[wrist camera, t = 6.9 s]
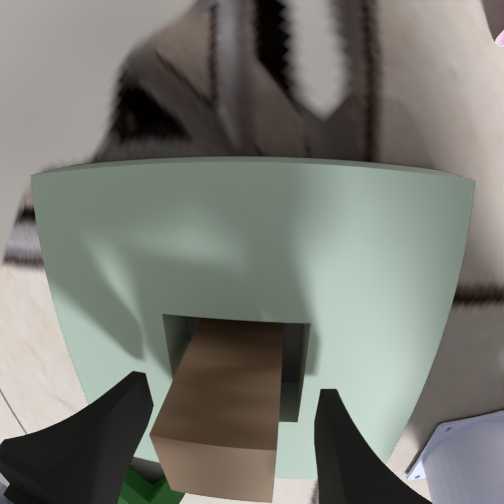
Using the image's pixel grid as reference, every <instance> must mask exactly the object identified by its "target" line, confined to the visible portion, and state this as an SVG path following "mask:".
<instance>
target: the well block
mask: <svg viewBox="0 0 504 504" xmlns="http://www.w3.org/2000/svg"><path fill="white" fill-rule="evenodd" d="M31 184H32V193H33V202H34V209H35V216H36V223H37V229H38V235H39V241H40V247H41V252H42V257H43V262H44V266H45V271H46V275H47V280H48V284H49V288H50V292H51V296H52V300H53V303H54V307H55V311H56V314H57V318H58V321H59V324H60V328H61V331H62V334H63V337H64V340H65V343H66V347H67V349H68V352H69V355H70V358H71V361H72V364H73V366H74V369H75V372H76V374H77V377H78V380H79V382H80V385H81V387H82V390H83V392H84V395H85V397H86V399H87V402H88V404H91V403H92V402H94V401H95V400H97V399H98V398H99V397H101V396H102V395H103V394H105V393H106V392H107V391H108V390H110V389H111V388H112V387H113V386H115V385H116V384H117V383H118V382H120V381H121V380H122V379H123V378H124V377H126V376H127V375H128V374H129V373H131V372H132V371H137V372H143V373H146V376H147V380H148V384H149V388H150V392H151V396H152V400H153V403H154V407H153V411H152V414H151V417H150V421H149V424H148V426H147V428H146V431H145V433H144V435H143V437H142V439H141V441H140V443H139V445H138V448H137V450H136V452H135V454H134V457H137V458H141V459H146V460H150V461H154V462H159V459H158V457H157V454H156V452H155V449H154V447H153V444H152V441H151V439H150V436H149V434H150V431H151V429H152V427H153V425H154V422H155V420H156V418H157V415H158V413H159V411H160V409H161V406H162V404H163V402H164V399H165V397H166V395H167V393H168V390H169V388H170V386H171V384H172V381H173V379H174V377H175V375H176V373H177V370H178V368H179V366H180V364H181V361H182V359H183V357H184V355H185V352H186V350H187V348H188V346H189V344H190V341H191V339H192V337H193V335H194V333H195V330H196V328H197V326H198V324H199V322H200V319H201V317H203V318H216V319H230V320H245V321H263V322H284V325H283V350H282V372H281V392H280V410H279V426H278V441H277V455H276V466H275V477H274V478H290V479H318V475H317V465H316V456H315V447H314V420H315V415H316V410H317V405H318V400H319V394H320V389H337V390H338V392H339V395H340V397H341V399H342V401H343V403H344V405H345V407H346V409H347V411H348V413H349V415H350V417H351V418H352V420H353V422H354V423H355V425H356V427H357V428H358V430H359V431H360V433H361V435H362V436H363V437H364V439H365V440H366V442H367V443H368V445H369V446H370V447H371V449H372V450H373V451H374V452H375V454H376V455H377V456H378V457H379V458H380V459H381V461H382V462H383V463H384V464H385V465H386V463H387V462H388V460H389V458H390V456H391V454H392V452H393V451H394V449H395V447H396V445H397V443H398V441H399V439H400V437H401V435H402V433H403V431H404V429H405V427H406V425H407V423H408V421H409V419H410V416H411V414H412V412H413V410H414V408H415V405H416V403H417V401H418V399H419V396H420V394H421V392H422V389H423V387H424V384H425V382H426V379H427V377H428V374H429V372H430V369H431V366H432V364H433V361H434V358H435V356H436V353H437V350H438V347H439V344H440V341H441V338H442V335H443V332H444V329H445V326H446V323H447V319H448V316H449V313H450V309H451V306H452V302H453V298H454V295H455V291H456V287H457V283H458V279H459V275H460V270H461V266H462V262H463V257H464V252H465V247H466V242H467V236H468V231H469V225H470V219H471V212H472V205H473V197H474V189H475V181H474V180H471V179H467V178H464V177H461V176H458V175H454V174H451V173H448V172H444V171H441V170H436V169H429V168H421V167H413V166H405V165H396V164H387V163H376V162H365V161H353V160H339V159H324V158H304V157H275V156H197V157H169V158H150V159H134V160H120V161H108V162H97V163H87V164H78V165H72V166H67V167H63V168H58V169H54V170H50V171H46V172H42V173H38V174H34V175H31ZM159 463H160V462H159Z"/></svg>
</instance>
